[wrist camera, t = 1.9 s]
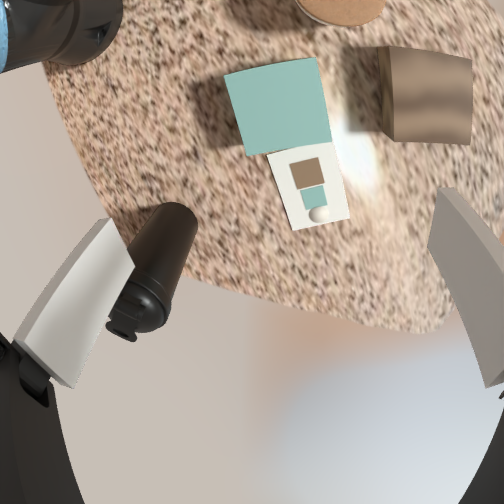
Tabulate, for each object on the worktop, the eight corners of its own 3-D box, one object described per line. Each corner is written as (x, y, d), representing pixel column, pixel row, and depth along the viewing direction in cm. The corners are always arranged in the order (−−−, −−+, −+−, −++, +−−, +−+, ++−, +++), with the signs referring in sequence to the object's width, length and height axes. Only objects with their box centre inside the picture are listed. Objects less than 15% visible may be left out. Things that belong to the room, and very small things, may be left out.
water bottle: (143, 230, 52) (86, 325, 34) (159, 188, 46) (89, 283, 28) (190, 253, 54) (151, 356, 36) (211, 214, 48) (169, 323, 30)
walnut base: (376, 46, 28) (388, 46, 24) (454, 57, 26) (471, 59, 22) (382, 132, 36) (394, 141, 32) (454, 135, 34) (470, 145, 30)
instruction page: (266, 154, 41) (266, 155, 41) (332, 138, 38) (332, 138, 38) (292, 230, 49) (292, 231, 48) (349, 217, 46) (350, 218, 46)
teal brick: (232, 73, 34) (223, 75, 29) (311, 57, 31) (315, 57, 26) (251, 142, 40) (246, 156, 36) (325, 130, 38) (332, 141, 33)
